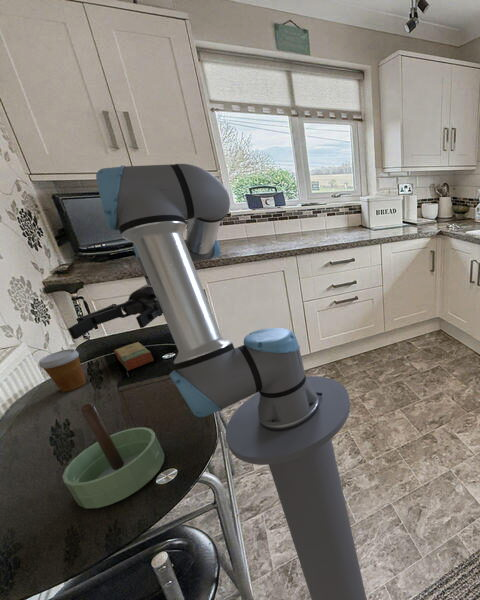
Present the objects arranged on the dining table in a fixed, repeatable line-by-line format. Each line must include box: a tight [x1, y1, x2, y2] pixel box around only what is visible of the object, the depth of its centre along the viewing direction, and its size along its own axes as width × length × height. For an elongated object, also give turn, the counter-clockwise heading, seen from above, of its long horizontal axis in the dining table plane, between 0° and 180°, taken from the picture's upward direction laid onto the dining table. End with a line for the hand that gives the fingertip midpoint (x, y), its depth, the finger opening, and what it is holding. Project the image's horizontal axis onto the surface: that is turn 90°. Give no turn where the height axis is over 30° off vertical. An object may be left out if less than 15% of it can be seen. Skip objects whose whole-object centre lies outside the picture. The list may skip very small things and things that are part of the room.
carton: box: [113, 341, 154, 372], centre depth 124 cm, size 8×16×4 cm, turn 51°
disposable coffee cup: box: [38, 348, 87, 392], centre depth 109 cm, size 10×10×12 cm
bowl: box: [62, 426, 165, 510], centre depth 70 cm, size 15×15×7 cm
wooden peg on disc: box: [80, 402, 137, 478], centre depth 68 cm, size 7×7×19 cm
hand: (106, 328), depth 75 cm, fingers open, 13 cm apart
